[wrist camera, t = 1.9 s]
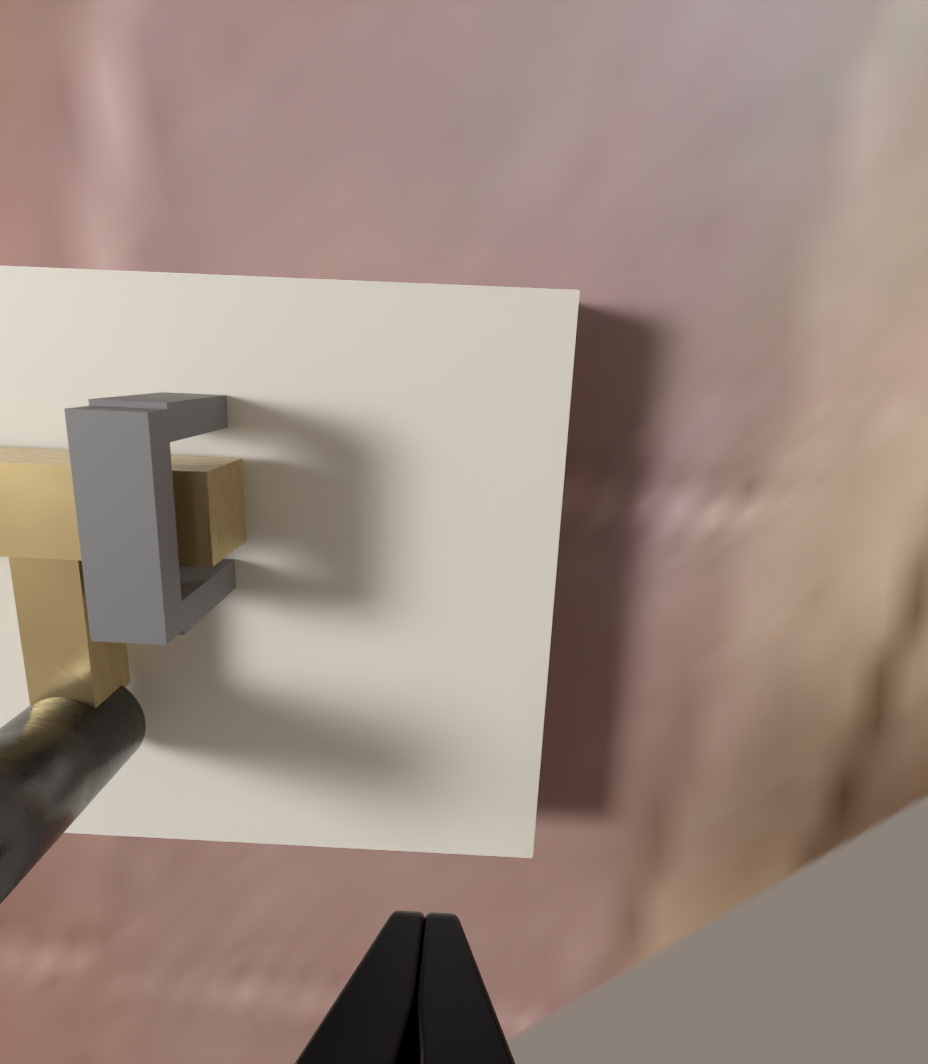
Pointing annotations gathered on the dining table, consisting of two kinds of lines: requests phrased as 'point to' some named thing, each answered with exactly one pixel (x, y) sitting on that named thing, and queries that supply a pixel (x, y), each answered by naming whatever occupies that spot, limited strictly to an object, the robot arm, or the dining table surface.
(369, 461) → the door board
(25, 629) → the bolt
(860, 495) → the dining table surface
